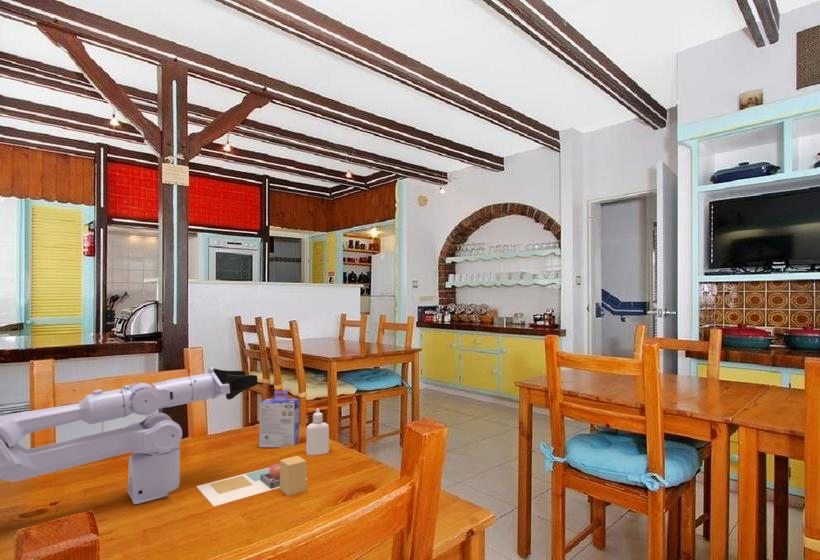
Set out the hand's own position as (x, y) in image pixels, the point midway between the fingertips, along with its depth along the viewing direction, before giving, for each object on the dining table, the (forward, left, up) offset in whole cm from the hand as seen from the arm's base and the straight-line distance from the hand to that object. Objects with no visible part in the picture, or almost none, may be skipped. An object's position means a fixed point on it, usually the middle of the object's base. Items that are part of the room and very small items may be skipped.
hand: (250, 377), depth 111 cm
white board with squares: (-3, -10, -22) cm, 24 cm away
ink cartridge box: (+13, +12, -22) cm, 28 cm away
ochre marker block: (+2, -19, -22) cm, 29 cm away
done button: (+1, -13, -20) cm, 23 cm away
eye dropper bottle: (+17, -2, -22) cm, 28 cm away
